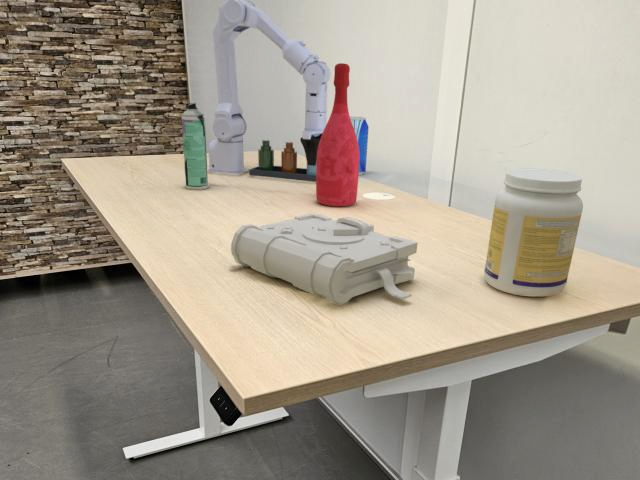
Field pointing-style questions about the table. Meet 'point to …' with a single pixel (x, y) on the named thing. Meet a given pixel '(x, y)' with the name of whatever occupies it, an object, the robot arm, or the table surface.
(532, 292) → the supplement tub
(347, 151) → the wine bottle
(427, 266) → the table surface
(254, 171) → the tray
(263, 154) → the bottle row
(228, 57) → the robot arm
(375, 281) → the book
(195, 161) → the spray can
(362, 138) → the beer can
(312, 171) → the blue bottle
